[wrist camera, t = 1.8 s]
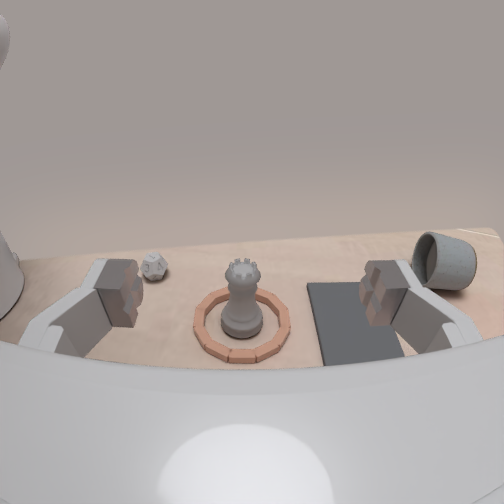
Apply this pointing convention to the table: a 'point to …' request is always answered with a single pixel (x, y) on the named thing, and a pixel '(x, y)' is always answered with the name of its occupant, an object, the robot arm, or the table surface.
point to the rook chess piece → (242, 300)
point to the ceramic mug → (443, 262)
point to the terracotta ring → (241, 354)
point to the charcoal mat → (348, 326)
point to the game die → (153, 266)
